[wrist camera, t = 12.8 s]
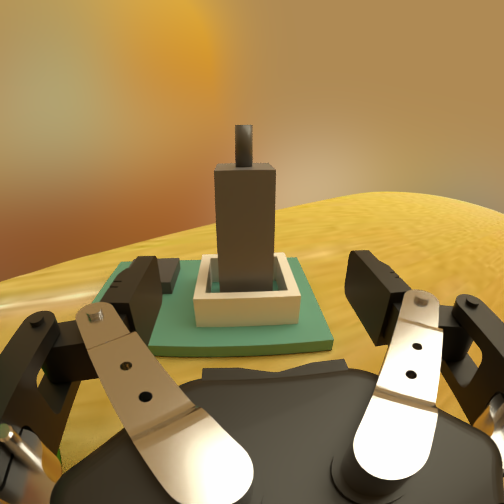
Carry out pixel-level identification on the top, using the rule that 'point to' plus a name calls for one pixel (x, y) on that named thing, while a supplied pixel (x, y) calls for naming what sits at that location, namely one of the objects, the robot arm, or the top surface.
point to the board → (233, 312)
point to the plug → (245, 219)
